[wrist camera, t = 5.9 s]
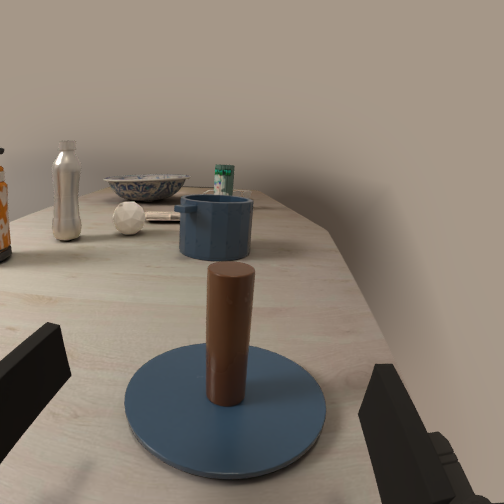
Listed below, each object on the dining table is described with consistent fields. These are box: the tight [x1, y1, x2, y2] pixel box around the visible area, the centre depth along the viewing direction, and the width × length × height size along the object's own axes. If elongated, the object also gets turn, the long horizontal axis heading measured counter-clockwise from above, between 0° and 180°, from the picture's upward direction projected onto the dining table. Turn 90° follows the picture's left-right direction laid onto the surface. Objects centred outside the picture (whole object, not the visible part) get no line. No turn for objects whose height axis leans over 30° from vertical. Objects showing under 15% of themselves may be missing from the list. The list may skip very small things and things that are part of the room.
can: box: [214, 165, 234, 196], centre depth 107 cm, size 6×6×15 cm
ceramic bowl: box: [104, 174, 190, 201], centre depth 117 cm, size 34×34×10 cm
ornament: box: [113, 202, 146, 235], centre depth 65 cm, size 7×7×8 cm
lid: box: [124, 261, 326, 479], centre depth 19 cm, size 14×14×10 cm
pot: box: [174, 194, 253, 261], centre depth 57 cm, size 13×18×10 cm
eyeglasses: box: [203, 189, 252, 198], centre depth 144 cm, size 15×18×4 cm
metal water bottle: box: [52, 141, 82, 240], centre depth 55 cm, size 6×7×20 cm
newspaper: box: [145, 212, 180, 221], centre depth 84 cm, size 23×12×2 cm, turn 102°
